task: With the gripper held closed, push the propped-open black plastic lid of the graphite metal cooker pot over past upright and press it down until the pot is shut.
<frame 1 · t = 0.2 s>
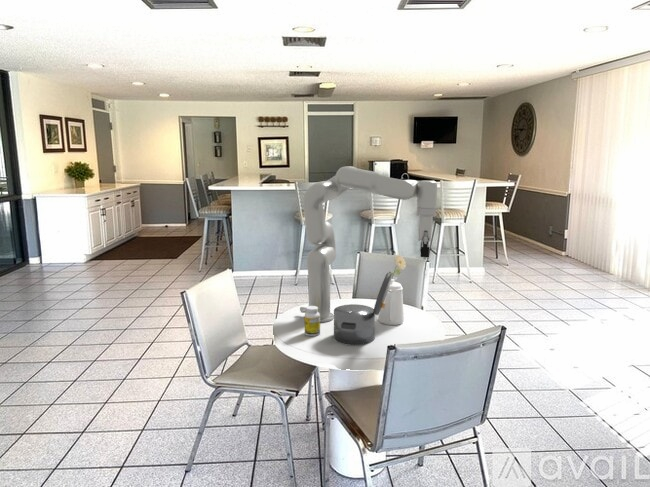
hand: (424, 254, 190), 31 cm above the table, tool pointing down, fingers open, 9 cm apart
cooker lid: (384, 294, 180), point 19 cm above the table, hinge at 106.0°
cooker pot: (354, 337, 187), on the table
flower in vase: (392, 306, 226), on the table
coffeepot: (390, 322, 204), on the table
pill bottle: (312, 334, 190), on the table
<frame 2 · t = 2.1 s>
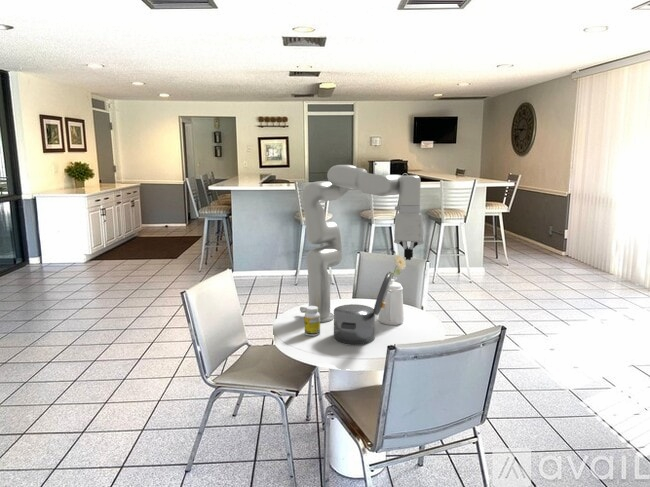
hand: (408, 259, 175), 33 cm above the table, tool pointing down, fingers closed
nothing on the table moved.
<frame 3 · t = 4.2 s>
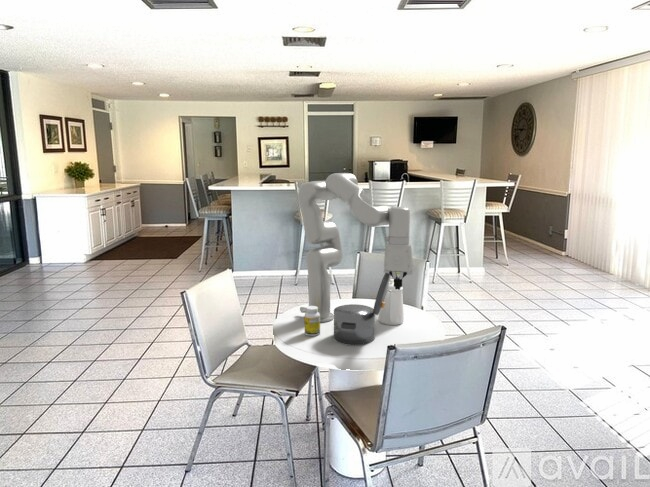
hand: (397, 288, 178), 21 cm above the table, tool pointing down, fingers closed
cooker lid: (383, 293, 180), point 19 cm above the table, hinge at 103.9°, touching gripper
everything else where it was.
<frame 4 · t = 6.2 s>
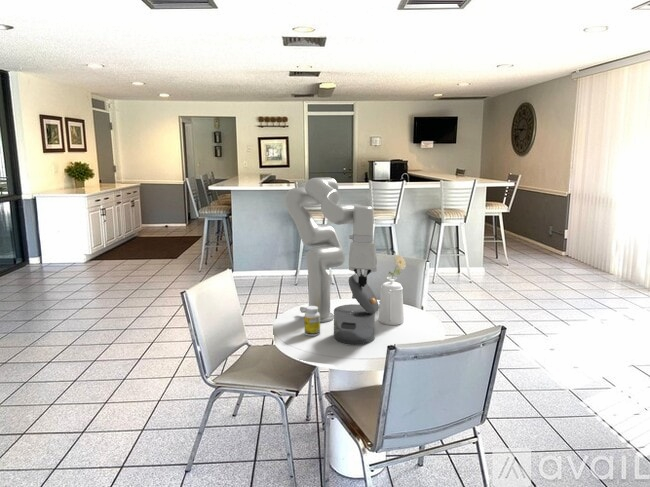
hand: (362, 285, 182), 21 cm above the table, tool pointing down, fingers closed
cooker lid: (365, 292, 182), point 19 cm above the table, hinge at 53.0°, touching gripper
everything else where it was.
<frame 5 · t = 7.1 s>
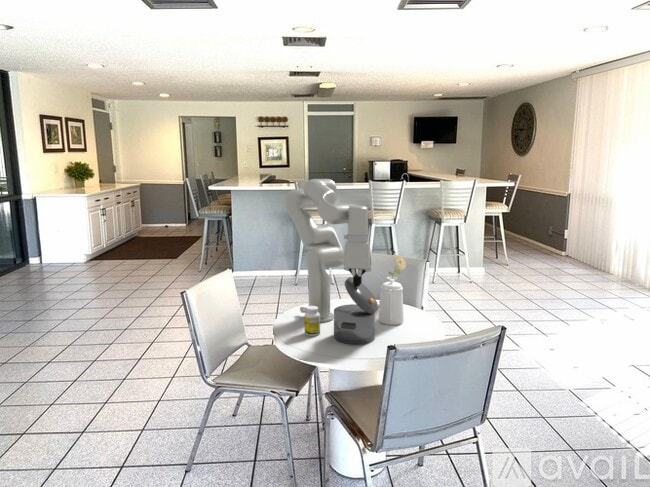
hand: (357, 285, 182), 21 cm above the table, tool pointing down, fingers closed
cooker lid: (362, 294, 182), point 18 cm above the table, hinge at 45.8°, touching gripper
everything else where it was.
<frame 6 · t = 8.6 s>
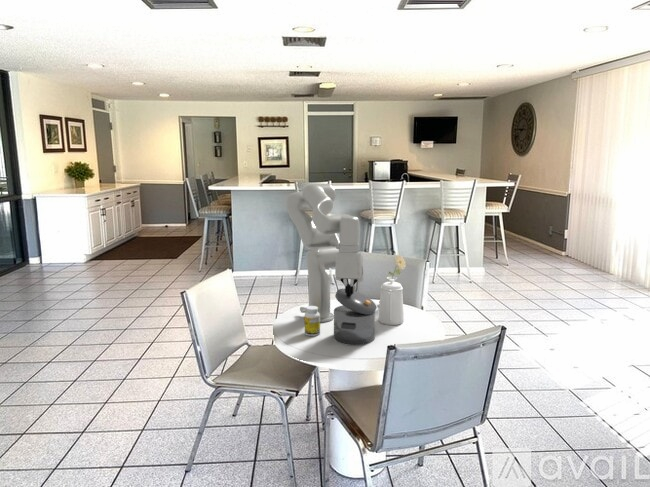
hand: (349, 295, 184), 17 cm above the table, tool pointing down, fingers closed
cooker lid: (356, 299, 184), point 15 cm above the table, hinge at 22.1°, touching gripper
everything else where it was.
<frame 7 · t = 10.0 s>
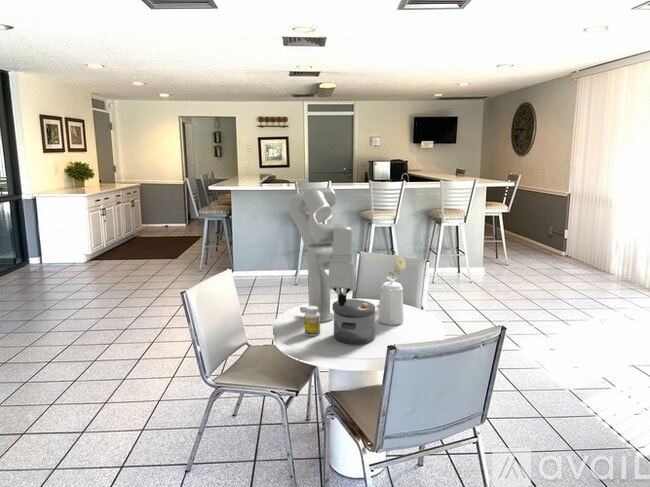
hand: (342, 304, 185), 13 cm above the table, tool pointing down, fingers closed
cooker lid: (353, 306, 184), point 13 cm above the table, hinge at 2.6°, touching gripper
everything else where it was.
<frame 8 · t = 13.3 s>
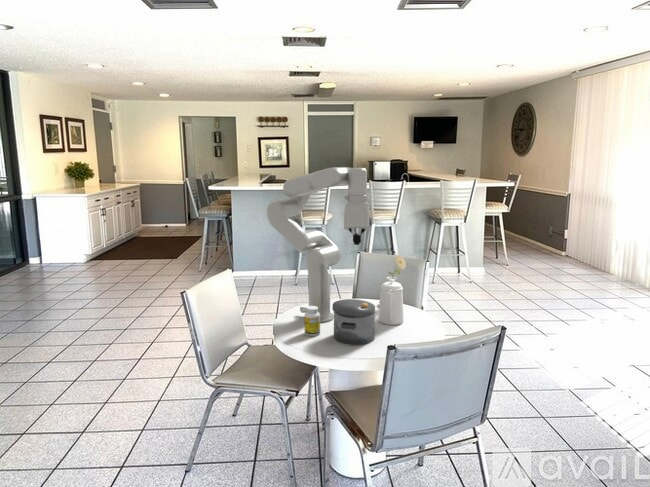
hand: (356, 244, 192), 35 cm above the table, tool pointing down, fingers closed
cooker lid: (353, 306, 184), point 13 cm above the table, hinge at 2.5°
everything else where it was.
at the end: cooker lid at +2° (first picture: +106°); coffeepot moved 0.2 cm from its start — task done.
